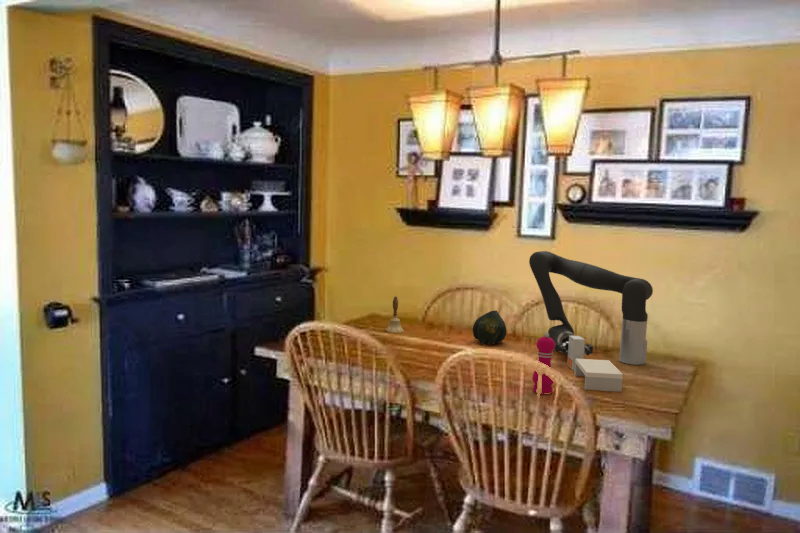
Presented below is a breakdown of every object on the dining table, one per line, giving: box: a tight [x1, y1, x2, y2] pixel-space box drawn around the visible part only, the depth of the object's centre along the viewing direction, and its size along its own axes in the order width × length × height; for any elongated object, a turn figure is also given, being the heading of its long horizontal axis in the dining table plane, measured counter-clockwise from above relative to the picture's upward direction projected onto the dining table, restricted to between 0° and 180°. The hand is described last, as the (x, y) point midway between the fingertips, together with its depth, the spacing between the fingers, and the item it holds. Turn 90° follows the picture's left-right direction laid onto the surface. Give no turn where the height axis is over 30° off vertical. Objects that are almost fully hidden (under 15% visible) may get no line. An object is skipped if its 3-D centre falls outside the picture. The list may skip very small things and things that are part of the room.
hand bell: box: [385, 296, 404, 334], centre depth 294 cm, size 8×8×16 cm
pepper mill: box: [532, 331, 555, 395], centre depth 211 cm, size 7×7×20 cm
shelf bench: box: [573, 358, 624, 393], centre depth 225 cm, size 12×18×6 cm, turn 176°
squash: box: [471, 310, 507, 346], centre depth 278 cm, size 14×15×15 cm
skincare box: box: [566, 335, 586, 371], centre depth 242 cm, size 6×4×12 cm
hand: (576, 352), depth 241 cm, fingers open, 8 cm apart
